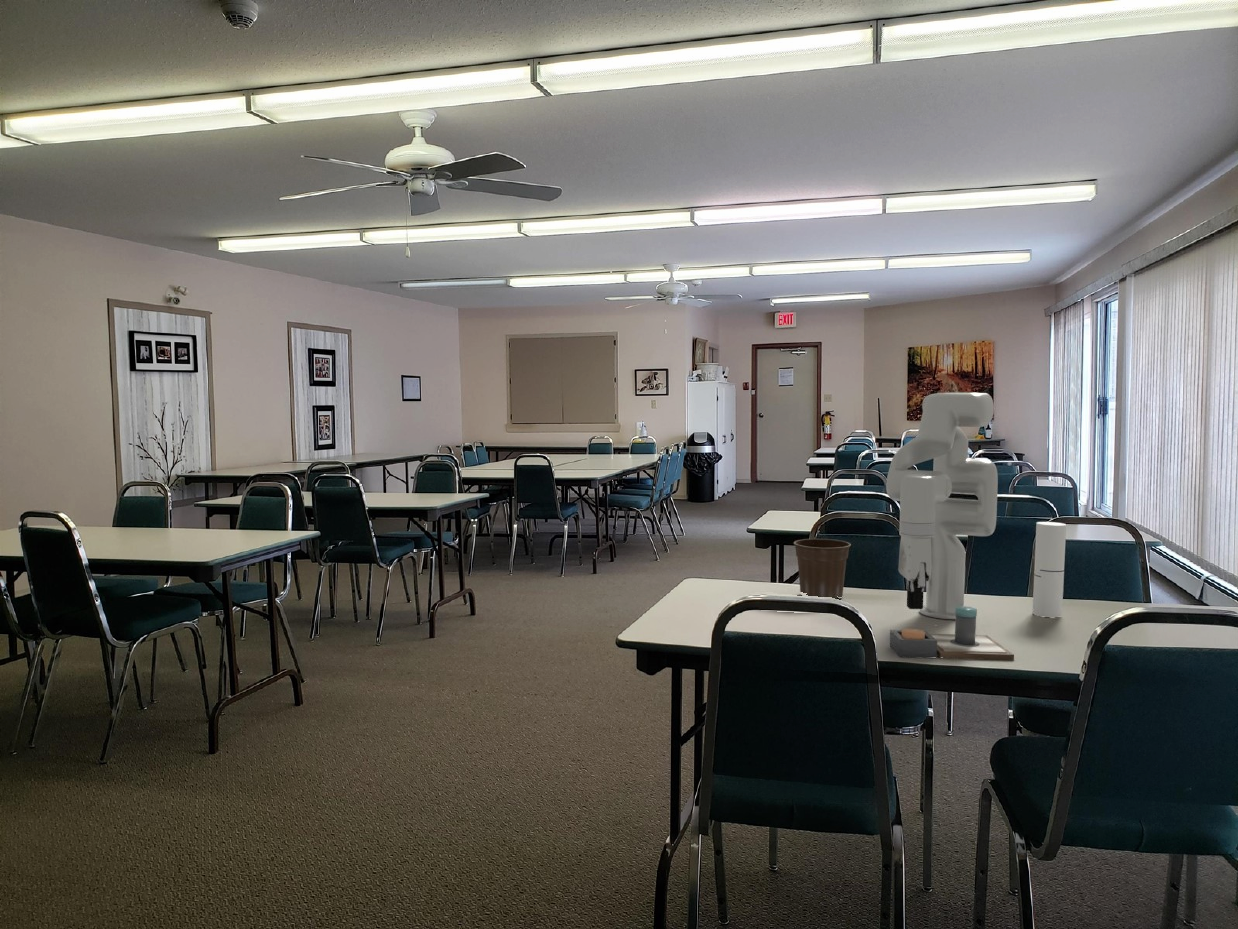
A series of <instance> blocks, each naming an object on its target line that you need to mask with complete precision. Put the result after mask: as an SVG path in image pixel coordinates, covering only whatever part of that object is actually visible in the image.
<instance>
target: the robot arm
mask: <svg viewBox="0 0 1238 929" xmlns="http://www.w3.org/2000/svg"><path fill="white" fill-rule="evenodd" d="M921 404H922V407H921V408H922V415H921V418H920V422H919V426H918V431H917V434H916V435H917V436H916V437H914V438H912V439H911V440H910V441H908V442H906V443H905V444H904V445H903V446H901V447H900V448H899V450H897V451H896V452H895V454H894V455H893V457H892V459H891V461H890V465H889V469H888V473H887V477H886V482H885V484H886V485H885V489H886V493H887V496H888V497H889V498H890V499H892V500H893V501H896V502H897V501H898V502H899V531H898V532H899V536H900V544H899V552H898V553H899V554H898V555H899V556H898V569H897V570H898V573H899V574H900V575H901V576H903V578H905V579H906V588H907V590H906V607H907V608H908V609H909V610H919V613H921V614H922V615H924V616H926V617H929V618H930V617H931V618H935V619H942V620H956V615H955V608H956V607H958V606H964V602H965V584H966V583H965V582H966V579H965V578H966V548H965V547H964V545H963V543H962V542H961V540H960V539H959V538H958V536H961V535H962V536H974V537H989V536H992V535H993V533H994V532H995V530H996V526H997V517H998V516H997V513H998V512H997V511H998V507H997V506H998V489H999V488H998V487H999V486H998V484H999V481H998V480H999V479H998V478H999V477H998V469H997V466H996V464H995V463H994V462H993V461H992V460H989V459H984V458H969V438H968V436H967V434H966V433H965V432H964V430H963V429H962V428H963V427H964V428H982V427H986V426H988V425H989V424H990V423H991V421H992V420H993V417H994V413H995V412H994V411H995V405H994V400H993V398H992V396H991V395H990V394H989V393H986V392H938V393H932V394H928V395H926V396H924V398H923V400H922V403H921ZM932 459H933V465H932V466H933V470H924V469H923V470H921V469H918V470H917V469H909V468H911V467H913V466H915V465H917V464H920V463H923V462H926V461H931V460H932ZM952 494H960V495H974V496H976V497H977V498H978V499H968V498H967V499H966V498H965V499H964V498H954V497H953V498H952V497H950V496H951V495H952ZM925 588H926V594H925V595H926V598H925V599H926V600H925V601H926V602H925V605H924V591H925Z"/></svg>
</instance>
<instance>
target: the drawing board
mask: <svg viewBox="0 0 1238 929" xmlns="http://www.w3.org/2000/svg"><path fill="white" fill-rule="evenodd" d="M929 634H930V635H931V636H933V637H934V638H935V639H936V640H937V656H938V657H939V658H940V657H943V658H942V659H954V658H955V659H956V660H957V658H958V660H960V659H961V660H996V661H997V660H1001V661H1003V660H1004V661H1014V660H1015V654H1013V653H1012V652H1011V651H1009V650H1008V649H1007V648H1005V647H1004V646H1002V645H1001V644H1000V643H998V642H997V640H994V639H993V638H992V637H990V636H989V635H988V634H975V644H974V645H962V644H958V643H955V633H954V634H953V633H952V634H951V633H950V634H949V633H929Z"/></svg>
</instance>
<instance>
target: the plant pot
mask: <svg viewBox="0 0 1238 929" xmlns="http://www.w3.org/2000/svg"><path fill="white" fill-rule="evenodd" d="M851 545H852V544H851V543H850V542H848V541H844V540H840V539H831V538H830V539H829V538H803V539H798V540H795V541H794V542H793V546H795V556H796V557H797V566H798V580H799V592H803V593H807V594H806V595H808V596H818V597H832V598H835V599H836V600H838V599H837V598H838V597H842V596H843V597H844V586H845V585H844V584H845V575H846V566H847V559H848V558H849V550H850V548H851ZM837 596H838V597H837ZM843 597H842V598H843Z"/></svg>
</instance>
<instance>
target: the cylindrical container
mask: <svg viewBox="0 0 1238 929" xmlns="http://www.w3.org/2000/svg"><path fill="white" fill-rule="evenodd" d="M1035 523H1036V524H1035V525H1036V527H1035V547H1034V572H1033V573H1034V574H1033V590H1032V591H1033V594H1032V615H1033V614H1034V616H1036V615H1037V616H1036V617H1039V616H1045V617H1058V616H1062V617H1063V600H1064V599H1063V597H1064V583H1065V582H1064V579H1065V561H1066V560H1065V559H1066V558H1065V556H1066V541H1067V539H1066V538H1067V537H1066V536H1067V524H1066V523H1063V522H1054V521H1037V522H1035Z"/></svg>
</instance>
